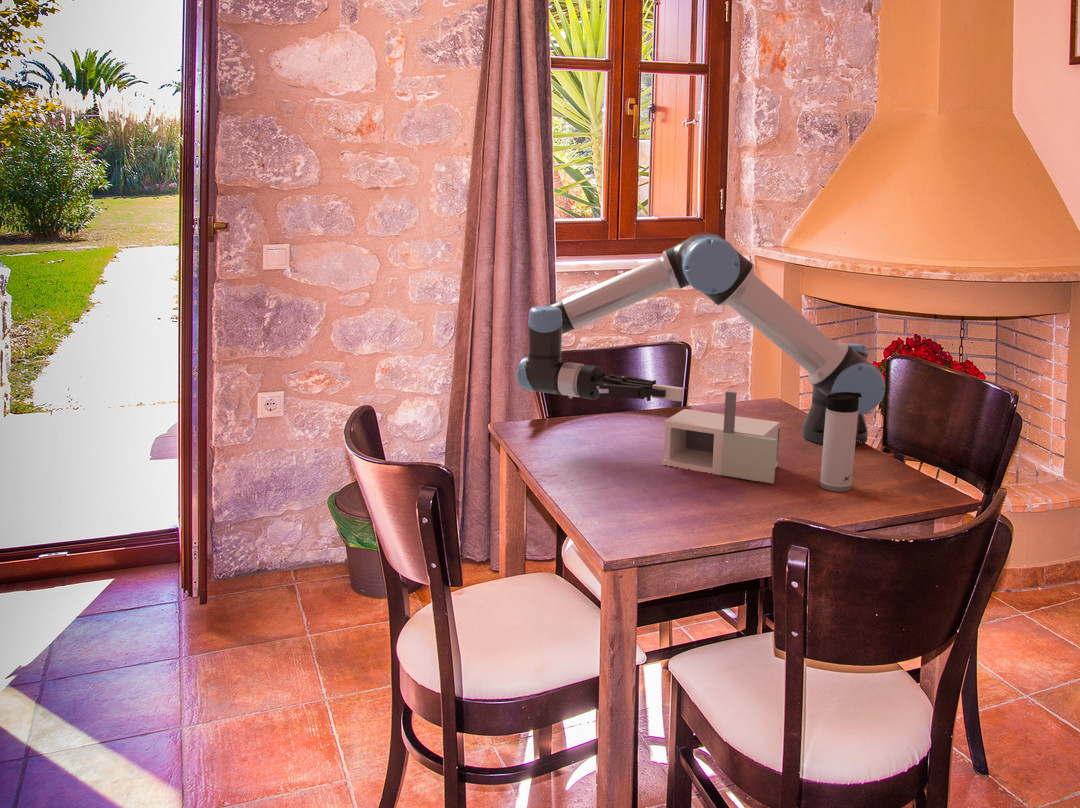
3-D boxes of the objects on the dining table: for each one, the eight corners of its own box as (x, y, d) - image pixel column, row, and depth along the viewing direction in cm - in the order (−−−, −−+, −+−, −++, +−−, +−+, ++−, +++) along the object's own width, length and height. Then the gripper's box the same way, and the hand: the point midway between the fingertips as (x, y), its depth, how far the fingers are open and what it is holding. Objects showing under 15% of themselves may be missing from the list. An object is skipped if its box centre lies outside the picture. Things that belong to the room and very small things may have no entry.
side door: (721, 474, 211) (725, 392, 206) (722, 473, 211) (727, 391, 207) (772, 483, 205) (778, 398, 201) (774, 482, 206) (779, 397, 202)
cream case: (662, 465, 218) (663, 421, 216) (682, 451, 229) (684, 408, 226) (760, 481, 208) (762, 435, 205) (777, 466, 218) (780, 422, 216)
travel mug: (854, 493, 201) (863, 397, 196) (820, 491, 203) (828, 395, 197) (851, 483, 207) (859, 390, 202) (818, 481, 208) (826, 388, 203)
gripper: (595, 391, 229) (692, 405, 218) (568, 403, 218) (669, 418, 207) (595, 359, 227) (693, 371, 216) (569, 370, 216) (671, 383, 205)
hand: (681, 394), depth 211 cm, fingers closed
